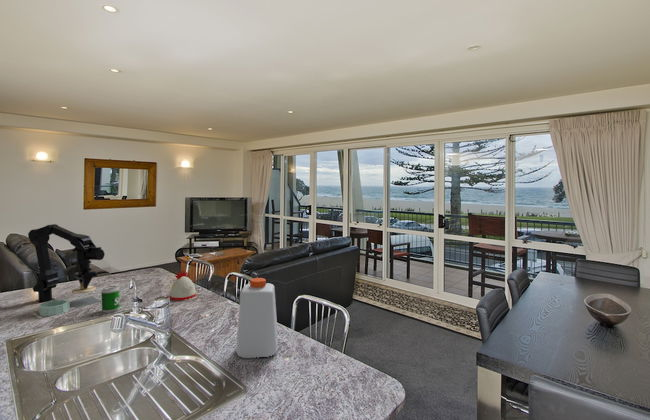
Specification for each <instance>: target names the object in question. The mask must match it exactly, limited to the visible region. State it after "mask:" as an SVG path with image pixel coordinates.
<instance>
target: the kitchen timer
mask: <svg viewBox="0 0 650 420" xmlns="http://www.w3.org/2000/svg"><path fill="white" fill-rule="evenodd" d="M174 277H175V278H176V280H175V281H174V282H173V283H172V285H171V288H170V290H169V291H170V292H169V299H170V300H172V299H173V300H172V301H177V300H179V301H186V300H185V299H187V300H190V299H189V298H191V299H193V298H195V297H196V295H197V291H196V288H195V284H194V283H193V281H192V280H191V279H190V278H189V277H190V273H188V271H186V272H185V270H180V273H179V271H177V274H175V276H174ZM194 296H195V297H194ZM192 297H193V298H192Z"/></svg>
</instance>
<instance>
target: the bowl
mask: <svg viewBox="0 0 650 420" xmlns="http://www.w3.org/2000/svg"><path fill="white" fill-rule="evenodd" d="M69 301H70V300H69V299H63V298H62V299H55V300H51V301H47V302H43V303H39V305H38V313H39V314H38V315H39V316H41V317H51V316H52V317H53V316H58V315H61V314H64V313H67V312H68V311H70V308H71V307H70V306H71V305H70V302H69Z"/></svg>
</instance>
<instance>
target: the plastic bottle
mask: <svg viewBox="0 0 650 420" xmlns="http://www.w3.org/2000/svg"><path fill="white" fill-rule="evenodd" d="M275 288H276V287H275V285H274V284H272V283H269V282H267V280H266V279H265V278H263V277H254V278H251V279H250V280H249V283H247V284H245V285H244V286H243V287H242V289H241V292H240V296H239V311H238V322H237V323H238V324H237V338H236V339H237V341H236V354H237V356H238V357H239V358H241V357H242V359H260V358H259V357H268V358H270V357H269V356H271V357H273V356H274V355H276V353H277V350H278V345H279V344H278V343H279V337H278V335H279V333H278V322H277V321H278V318H277V306H276V303H277V302H276V291H275V290H276V289H275ZM272 355H273V356H272ZM256 357H257V358H256Z"/></svg>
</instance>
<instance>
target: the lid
mask: <svg viewBox="0 0 650 420" xmlns="http://www.w3.org/2000/svg"><path fill="white" fill-rule="evenodd" d="M79 286H80V287H76V288H74V289H72V290H71V293H72V294H87V293H91V292H93V291H96V290H97V287H96V286H95V285H94V286H93V285H88V287H87V288H86V289H84V286H83V282H81V283H80V282H79Z"/></svg>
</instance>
